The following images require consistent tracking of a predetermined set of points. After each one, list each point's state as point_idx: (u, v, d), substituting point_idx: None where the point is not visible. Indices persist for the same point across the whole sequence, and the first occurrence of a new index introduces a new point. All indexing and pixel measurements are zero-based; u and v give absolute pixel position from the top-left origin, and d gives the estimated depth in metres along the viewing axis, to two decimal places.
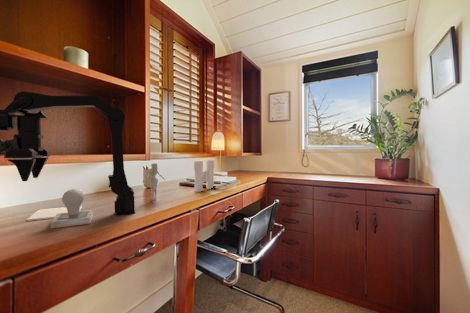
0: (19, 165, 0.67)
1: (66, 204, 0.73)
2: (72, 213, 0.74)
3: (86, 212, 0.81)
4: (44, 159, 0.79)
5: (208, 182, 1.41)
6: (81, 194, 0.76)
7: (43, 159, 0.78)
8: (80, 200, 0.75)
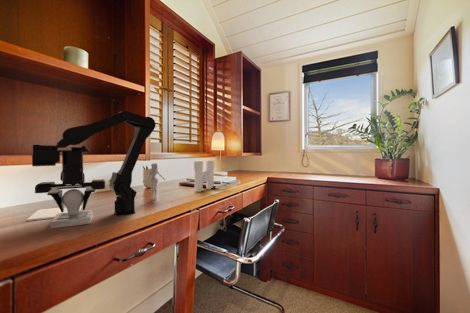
0: None
1: (66, 204, 0.73)
2: (72, 213, 0.74)
3: (86, 212, 0.81)
4: (84, 192, 0.75)
5: (208, 182, 1.41)
6: (81, 194, 0.76)
7: (84, 192, 0.75)
8: (80, 200, 0.75)
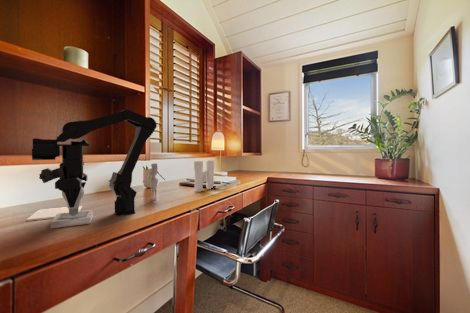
0: (68, 193, 0.71)
1: (80, 197, 0.75)
2: None
3: (86, 212, 0.81)
4: (83, 184, 0.80)
5: (208, 182, 1.41)
6: None
7: (82, 185, 0.79)
8: None
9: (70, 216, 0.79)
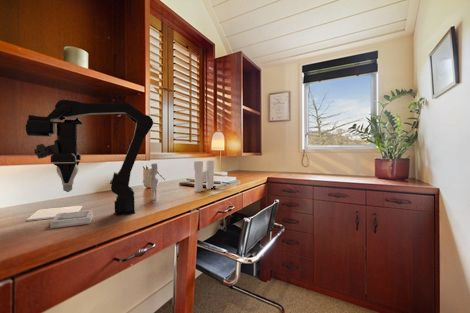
0: (62, 168, 0.73)
1: (74, 174, 0.77)
2: None
3: (86, 212, 0.81)
4: (77, 163, 0.82)
5: (208, 182, 1.41)
6: None
7: (76, 163, 0.82)
8: None
9: (70, 216, 0.79)
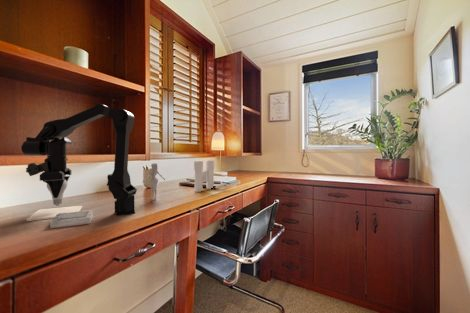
0: (52, 185, 0.80)
1: (63, 189, 0.84)
2: (62, 197, 0.85)
3: (86, 212, 0.81)
4: (67, 178, 0.89)
5: (208, 182, 1.41)
6: None
7: (66, 178, 0.88)
8: None
9: (70, 216, 0.79)
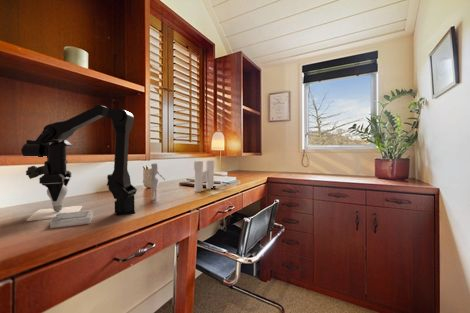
0: (51, 188, 0.79)
1: (63, 195, 0.84)
2: (62, 203, 0.85)
3: (86, 212, 0.81)
4: (67, 180, 0.90)
5: (208, 182, 1.41)
6: None
7: (66, 180, 0.89)
8: None
9: (70, 216, 0.79)
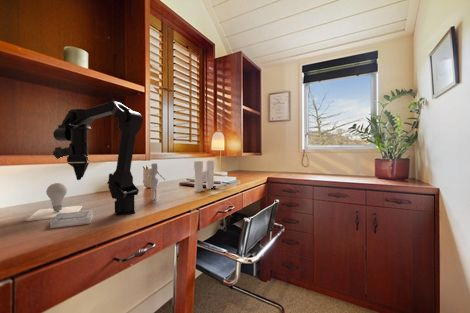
0: (75, 167, 0.86)
1: (62, 195, 0.84)
2: (62, 203, 0.85)
3: (86, 212, 0.81)
4: None
5: (208, 182, 1.41)
6: None
7: None
8: None
9: (70, 216, 0.79)
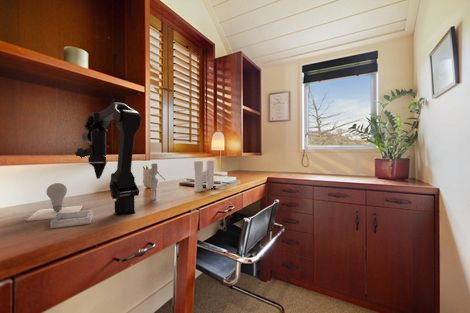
0: (95, 167, 0.94)
1: (62, 195, 0.84)
2: (62, 203, 0.85)
3: (86, 212, 0.81)
4: (105, 162, 1.05)
5: (208, 182, 1.41)
6: None
7: None
8: None
9: (70, 216, 0.79)
